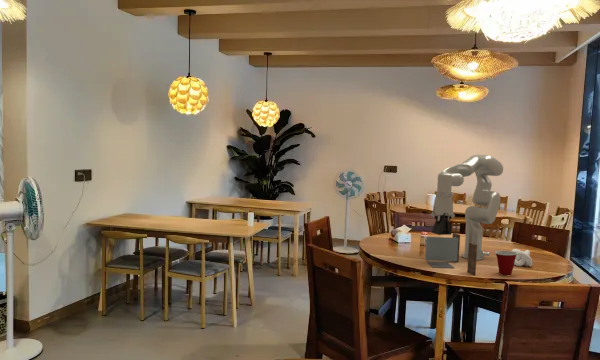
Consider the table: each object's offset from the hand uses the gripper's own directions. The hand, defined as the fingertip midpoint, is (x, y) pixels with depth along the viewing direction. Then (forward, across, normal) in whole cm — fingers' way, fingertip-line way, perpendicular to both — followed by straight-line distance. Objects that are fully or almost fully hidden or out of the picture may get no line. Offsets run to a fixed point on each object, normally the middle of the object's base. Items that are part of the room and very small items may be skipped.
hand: (442, 227), depth 246 cm
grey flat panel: (+20, -3, -8) cm, 22 cm away
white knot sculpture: (+22, -49, -8) cm, 54 cm away
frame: (+21, -12, +1) cm, 24 cm away
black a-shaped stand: (+4, 0, 0) cm, 4 cm away
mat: (+21, 0, 0) cm, 21 cm away
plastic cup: (+22, -30, +14) cm, 39 cm away
